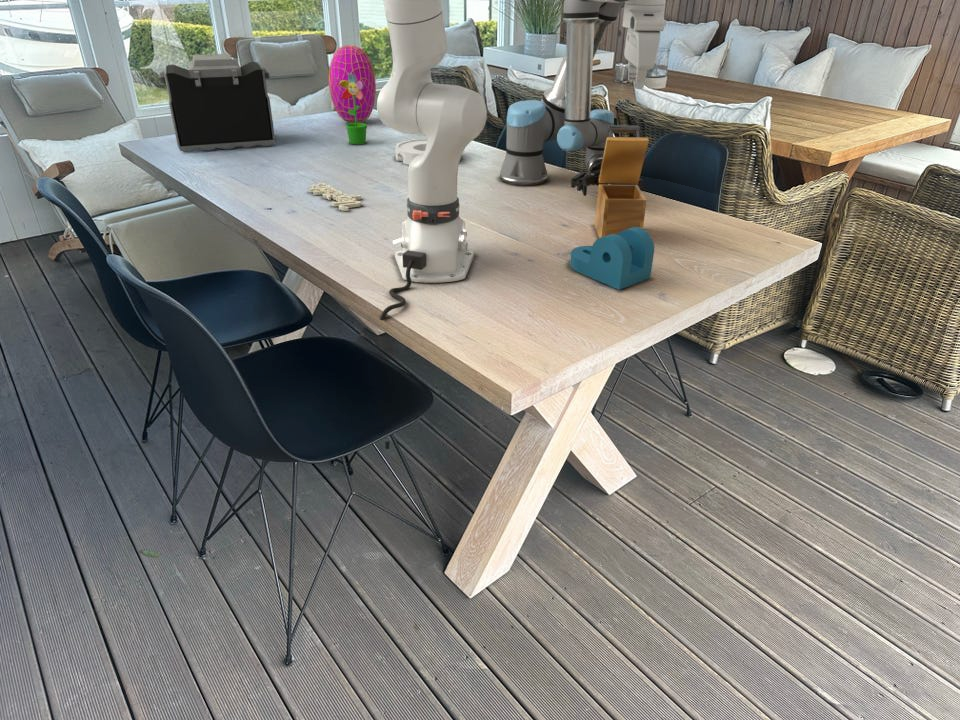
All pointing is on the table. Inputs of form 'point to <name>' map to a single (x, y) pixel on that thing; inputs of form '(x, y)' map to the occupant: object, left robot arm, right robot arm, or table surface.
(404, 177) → the table surface
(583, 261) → the blue clevis bracket
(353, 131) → the potted flower
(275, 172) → the table surface
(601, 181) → the lid
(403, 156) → the ashtray
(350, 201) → the decorative sign
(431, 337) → the table surface
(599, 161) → the right robot arm
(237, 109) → the electronic device
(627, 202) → the chest
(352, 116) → the decorative egg
